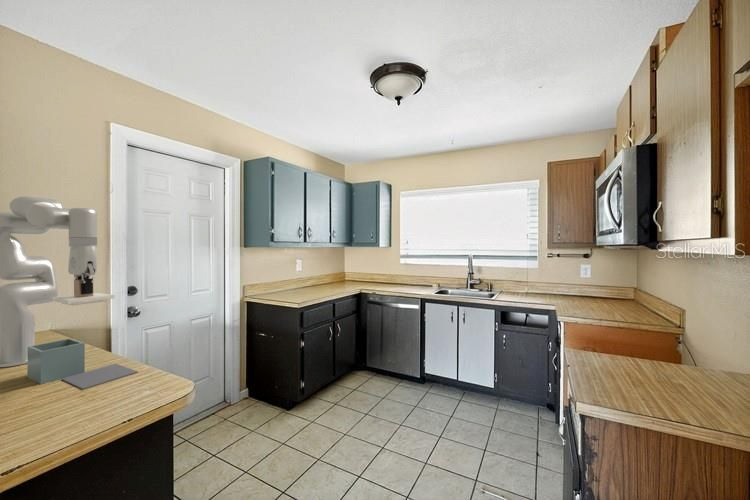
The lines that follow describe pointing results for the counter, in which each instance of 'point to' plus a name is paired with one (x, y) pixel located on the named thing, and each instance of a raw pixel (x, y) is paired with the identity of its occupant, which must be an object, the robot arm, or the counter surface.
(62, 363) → the teal storage bin
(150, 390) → the counter surface
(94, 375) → the mat
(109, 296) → the lid
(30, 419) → the counter surface
